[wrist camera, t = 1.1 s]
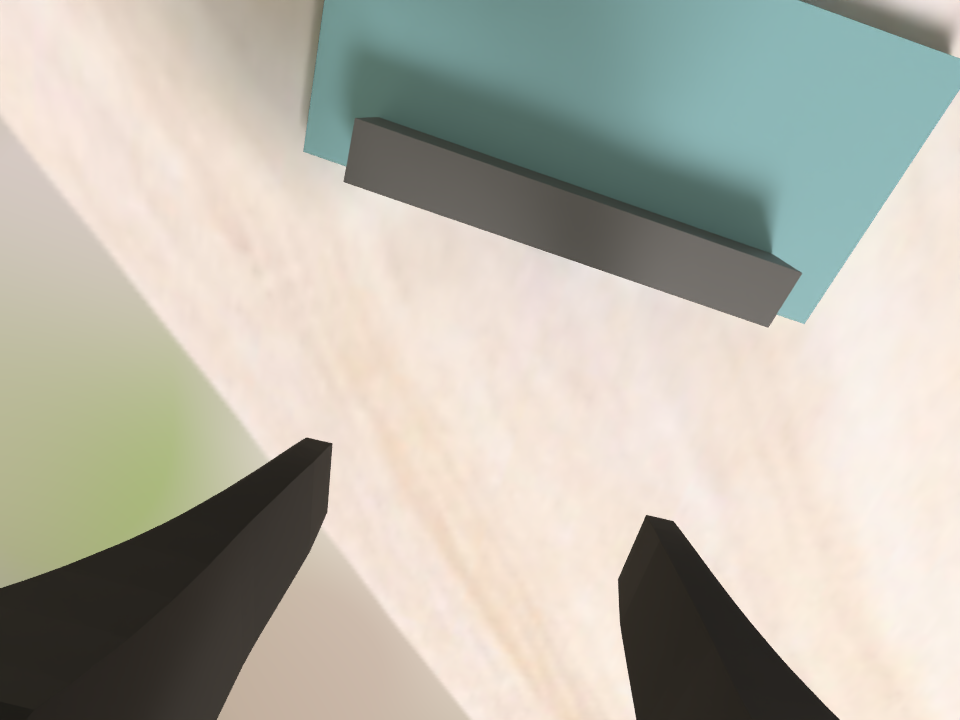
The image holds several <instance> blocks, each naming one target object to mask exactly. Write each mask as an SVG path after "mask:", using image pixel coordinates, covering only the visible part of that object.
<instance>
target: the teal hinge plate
mask: <svg viewBox="0 0 960 720" xmlns="http://www.w3.org/2000/svg"><path fill="white" fill-rule="evenodd" d="M959 90H960V58H957V57H954V56H951V55H949V54H946V53H943V52H940V51H938V50H935V49H932V48H929V47H927V46H924V45H921V44H918V43H915V42H913V41H910V40H907V39H904V38H902V37H899V36H896V35H893V34H891V33H888V32H885V31H882V30H880V29H877V28H874V27H871V26H869V25H866V24H863V23H860V22H857V21H855V20H852V19H849V18H846V17H844V16H841V15H838V14H835V13H833V12H830V11H827V10H824V9H822V8H819V7H816V6H813V5H811V4H808V3H805V2H802V1H799V0H324V7H323V14H322V21H321V28H320V36H319V43H318V50H317V57H316V65H315V72H314V79H313V86H312V93H311V101H310V108H309V115H308V122H307V130H306V137H305V144H304V151H303V152H306V153H309V154H312V155H315V156H318V157H320V158H323V159H326V160H329V161H332V162H335V163H338V164H341V165H344V166H346V171H345V177H344V182H345V183H348V184H351V185H354V186H357V187H360V188H363V189H366V190H369V191H372V192H374V193H377V194H380V195H383V196H386V197H389V198H392V199H395V200H398V201H401V202H404V203H407V204H409V205H412V206H415V207H418V208H421V209H424V210H427V211H430V212H433V213H436V214H439V215H441V216H444V217H447V218H450V219H453V220H456V221H459V222H462V223H465V224H468V225H471V226H474V227H476V228H479V229H482V230H485V231H488V232H491V233H494V234H497V235H500V236H503V237H506V238H509V239H511V240H514V241H517V242H520V243H523V244H526V245H529V246H532V247H535V248H538V249H541V250H543V251H546V252H549V253H552V254H555V255H558V256H561V257H564V258H567V259H570V260H573V261H576V262H578V263H581V264H584V265H587V266H590V267H593V268H596V269H599V270H602V271H605V272H608V273H610V274H613V275H616V276H619V277H622V278H625V279H628V280H631V281H634V282H637V283H640V284H643V285H645V286H648V287H651V288H654V289H657V290H660V291H663V292H666V293H669V294H672V295H675V296H678V297H680V298H683V299H686V300H689V301H692V302H695V303H698V304H701V305H704V306H707V307H710V308H712V309H715V310H718V311H721V312H724V313H727V314H730V315H733V316H736V317H739V318H742V319H745V320H747V321H750V322H753V323H756V324H759V325H762V326H765V327H769V326H770V324H771V323H772V321H773V319H774V318H775V316H776V315H780V316H783V317H785V318H788V319H791V320H794V321H797V322H800V323H803V324H805V322H806V321H807V319H808V318H809V316H810V315H811V313H812V312H813V310H814V309H815V307H816V306H817V304H818V303H819V301H820V300H821V298H822V297H823V295H824V294H825V292H826V291H827V289H828V287H829V286H830V284H831V283H832V281H833V280H834V278H835V277H836V275H837V274H838V272H839V271H840V269H841V268H842V266H843V265H844V263H845V262H846V260H847V259H848V257H849V256H850V254H851V253H852V251H853V250H854V248H855V247H856V245H857V244H858V242H859V241H860V239H861V238H862V236H863V235H864V233H865V232H866V230H867V229H868V227H869V226H870V224H871V223H872V221H873V220H874V218H875V216H876V215H877V213H878V212H879V210H880V209H881V207H882V206H883V204H884V203H885V201H886V200H887V198H888V197H889V195H890V194H891V192H892V191H893V189H894V188H895V186H896V185H897V183H898V182H899V180H900V179H901V177H902V176H903V174H904V173H905V171H906V170H907V168H908V167H909V165H910V164H911V162H912V161H913V159H914V158H915V156H916V155H917V153H918V152H919V150H920V149H921V147H922V145H923V144H924V142H925V141H926V139H927V138H928V136H929V135H930V133H931V132H932V130H933V129H934V127H935V126H936V124H937V123H938V121H939V120H940V118H941V117H942V115H943V114H944V112H945V111H946V109H947V108H948V106H949V105H950V103H951V102H952V100H953V99H954V97H955V96H956V94H957V93H958V91H959Z"/></svg>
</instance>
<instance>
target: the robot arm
mask: <svg viewBox="0 0 960 720" xmlns="http://www.w3.org/2000/svg"><path fill="white" fill-rule="evenodd" d="M331 456H332V443H328V442H324V441H319V440H315V439H311V438H305V439H303V440H301V441H300V442H298V443H297V444H295V445H294V446H292V447H291V448H289V449H288V450H286V451H285V452H283V453H282V454H280V455H279V456H277V457H276V458H274V459H273V460H271V461H269V462H268V463H266V464H265V465H263V466H262V467H260V468H259V469H257V470H256V471H254V472H253V473H251V474H249V475H248V476H246V477H245V478H243V479H241V480H240V481H238V482H237V483H235V484H233V485H232V486H230V487H229V488H227V489H226V490H224V491H222V492H220V493H219V494H217V495H215V496H213V497H211V498H210V499H208V500H206V501H205V502H203V503H201V504H199V505H197V506H196V507H194V508H192V509H190V510H189V511H187V512H185V513H183V514H181V515H179V516H177V517H176V518H174V519H172V520H170V521H168V522H166V523H164V524H162V525H160V526H157V527H155V528H153V529H151V530H149V531H147V532H145V533H143V534H140V535H138V536H136V537H134V538H132V539H130V540H127V541H125V542H123V543H120V544H118V545H115V546H113V547H111V548H108V549H106V550H103V551H101V552H98V553H96V554H93V555H91V556H89V557H86V558H83V559H81V560H78V561H76V562H74V563H71V564H69V565H66V566H63V567H61V568H58V569H55V570H53V571H50V572H47V573H44V574H41V575H39V576H36V577H33V578H30V579H27V580H24V581H21V582H18V583H15V584H12V585H9V586H6V587H3V588H0V720H217V718H218V715H219V714H220V712H221V709H222V707H223V705H224V703H225V701H226V699H227V697H228V695H229V693H230V691H231V689H232V686H233V685H234V683H235V680H236V679H237V676H238V674H239V672H240V670H241V668H242V666H243V664H244V663H245V661H246V659H247V657H248V655H249V653H250V652H251V650H252V648H253V646H254V644H255V643H256V641H257V639H258V638H259V636H260V634H261V633H262V631H263V629H264V627H265V626H266V624H267V622H268V621H269V619H270V618H271V616H272V614H273V612H274V611H275V609H276V608H277V606H278V604H279V602H280V601H281V599H282V598H283V596H284V594H285V593H286V591H287V589H288V588H289V586H290V584H291V583H292V581H293V579H294V578H295V576H296V574H297V572H298V571H299V569H300V567H301V566H302V564H303V562H304V560H305V559H306V557H307V555H308V554H309V552H310V550H311V547H312V545H313V543H314V541H315V538H316V537H317V534H318V532H319V530H320V528H321V525H322V523H323V521H324V518H325V516H326V514H327V508H328V495H329V482H330V469H331ZM618 589H619V612H620V626H621V633H622V639H623V645H624V651H625V657H626V663H627V668H628V674H629V680H630V686H631V691H632V697H633V703H634V708H635V714H636V720H840V719H839V718H838V717H837V716H835V715H834V714H833V713H832V712H831V711H830V710H829V709H828V708H827V707H826V706H825V705H824V704H823V702H822V701H821V700H820V699H819V698H818V697H817V696H816V695H815V694H814V693H813V692H812V691H811V690H810V689H809V688H808V687H807V686H806V685H805V684H804V682H803V681H802V680H801V679H800V678H799V677H798V676H797V675H796V674H795V673H794V672H793V671H792V670H791V669H790V668H789V666H788V665H787V664H786V663H785V662H784V661H783V660H782V659H781V658H780V656H779V655H778V654H777V653H776V652H775V651H774V649H773V648H772V647H771V646H770V645H769V644H768V642H767V641H766V640H765V639H764V638H763V637H762V635H761V634H760V633H759V632H758V631H757V629H756V628H755V627H754V626H753V625H752V623H751V622H750V621H749V620H748V619H747V617H746V616H745V615H744V614H743V612H742V611H741V610H740V609H739V607H738V606H737V605H736V604H735V602H734V601H733V600H732V598H731V597H730V596H729V595H728V593H727V592H726V591H725V589H724V588H723V587H722V585H721V584H720V583H719V581H718V580H717V579H716V577H715V576H714V575H713V573H712V572H711V571H710V569H709V568H708V567H707V565H706V564H705V563H704V561H703V560H702V559H701V557H700V556H699V555H698V553H697V552H696V550H695V549H694V548H693V546H692V545H691V544H690V542H689V541H688V540H687V538H686V537H685V536H684V534H683V533H682V532H681V530H680V529H679V528H678V526H677V525H676V524H675V523H674V521H670V520H666V519H662V518H657V517H653V516H648V515H646V517H645V519H644V521H643V524H642V526H641V528H640V531H639V533H638V535H637V537H636V540H635V542H634V544H633V547H632V549H631V551H630V553H629V556H628V558H627V560H626V563H625V565H624V567H623V569H622V572H621V574H620V576H619V578H618Z"/></svg>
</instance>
